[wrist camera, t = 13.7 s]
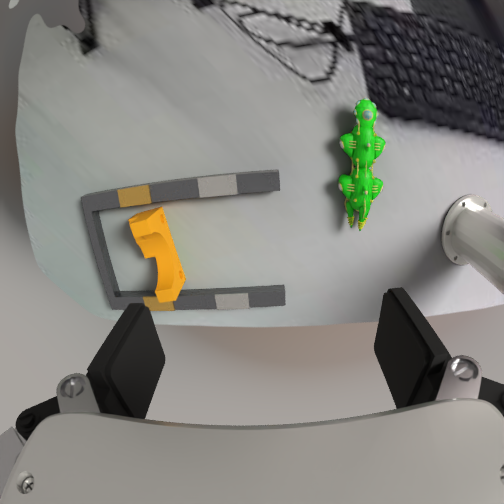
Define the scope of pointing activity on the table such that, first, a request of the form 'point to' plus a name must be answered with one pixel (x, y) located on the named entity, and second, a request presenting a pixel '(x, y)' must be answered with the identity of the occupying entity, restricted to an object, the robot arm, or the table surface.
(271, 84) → the table surface
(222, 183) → the rail frame
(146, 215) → the pipe clamp
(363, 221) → the crocodile figurine
